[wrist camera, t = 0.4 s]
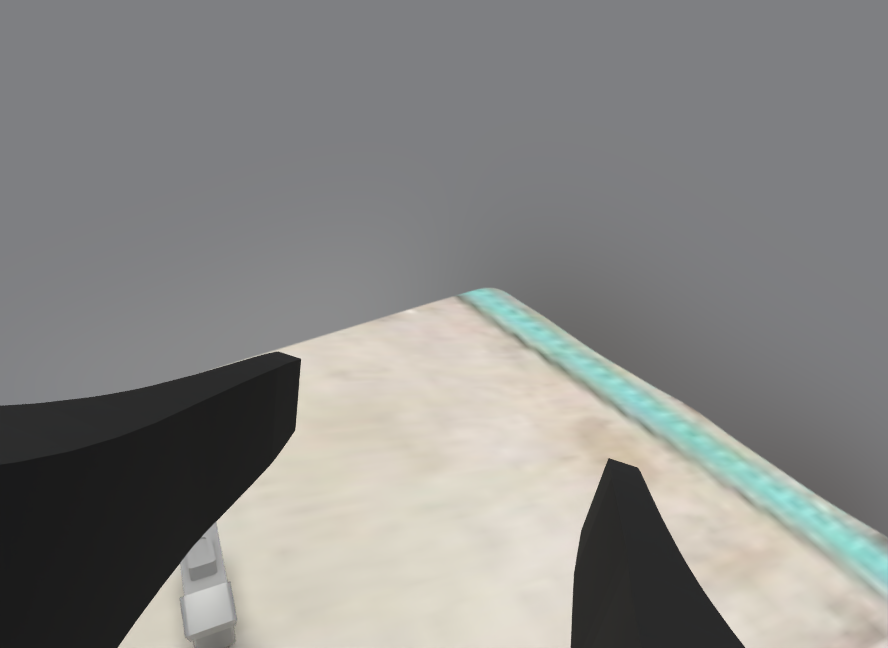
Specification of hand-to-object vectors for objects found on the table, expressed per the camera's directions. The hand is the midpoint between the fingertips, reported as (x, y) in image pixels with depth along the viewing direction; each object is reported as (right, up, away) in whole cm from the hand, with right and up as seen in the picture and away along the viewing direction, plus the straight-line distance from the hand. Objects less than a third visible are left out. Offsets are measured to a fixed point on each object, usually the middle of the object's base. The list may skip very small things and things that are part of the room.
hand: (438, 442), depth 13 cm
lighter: (-11, -12, +14) cm, 22 cm away
